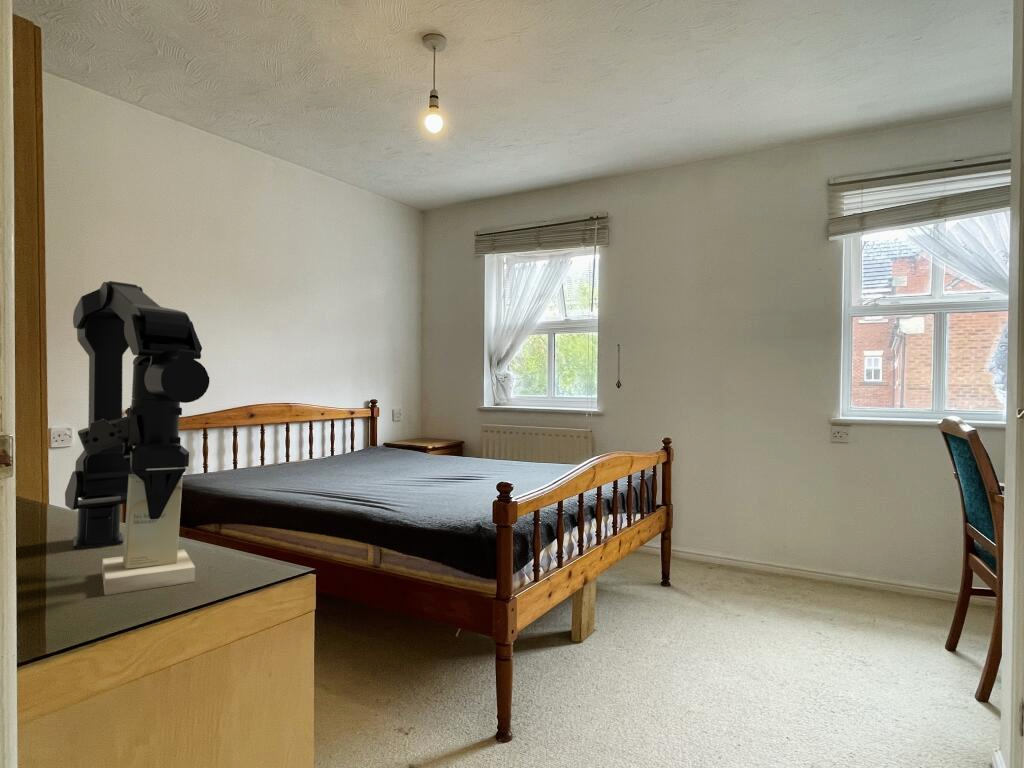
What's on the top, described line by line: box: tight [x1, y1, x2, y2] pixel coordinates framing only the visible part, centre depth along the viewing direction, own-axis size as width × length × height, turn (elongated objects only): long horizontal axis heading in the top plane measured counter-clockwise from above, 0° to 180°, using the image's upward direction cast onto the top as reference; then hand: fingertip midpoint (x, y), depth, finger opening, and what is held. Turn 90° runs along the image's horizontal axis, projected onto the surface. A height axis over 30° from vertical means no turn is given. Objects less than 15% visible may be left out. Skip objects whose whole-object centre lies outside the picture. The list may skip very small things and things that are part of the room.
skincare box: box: [122, 474, 184, 569], centre depth 79 cm, size 6×4×12 cm
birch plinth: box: [101, 548, 196, 596], centre depth 79 cm, size 10×10×2 cm
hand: (150, 512), depth 79 cm, fingers open, 9 cm apart
